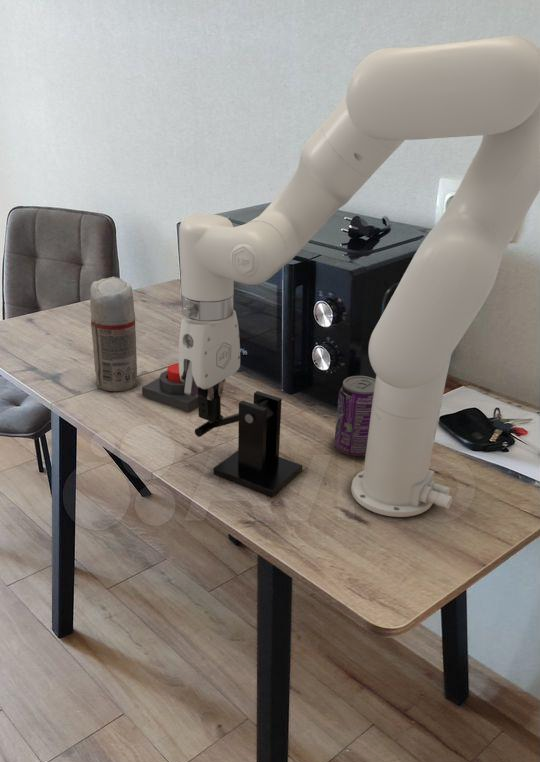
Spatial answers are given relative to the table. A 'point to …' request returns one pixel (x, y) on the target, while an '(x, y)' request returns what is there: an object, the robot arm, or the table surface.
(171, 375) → the button
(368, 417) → the beverage can
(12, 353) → the table surface
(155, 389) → the button block
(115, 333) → the spray can
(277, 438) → the bracket
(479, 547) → the table surface
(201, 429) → the lever
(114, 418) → the table surface
